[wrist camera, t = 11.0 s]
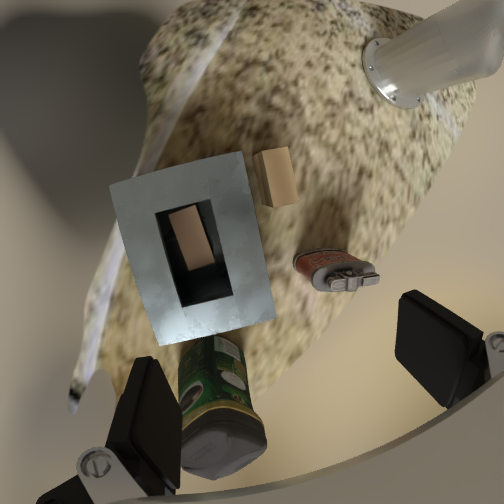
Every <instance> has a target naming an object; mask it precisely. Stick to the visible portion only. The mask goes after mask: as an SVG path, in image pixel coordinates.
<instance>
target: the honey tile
mask: <svg viewBox="0 0 504 504" xmlns="http://www.w3.org/2000/svg"><path fill="white" fill-rule="evenodd" d="M252 158H253V163H254V167H255V172H256V177H257V182H258V186H259V191H260V196H261V201H262V204H263V205H266V206H269V207H273V208H275V207H280V206H284V205H289V204H294V203H298V202H299V200H298V194H297V189H296V184H295V179H294V174H293V169H292V164H291V159H290V155H289V150H288V147H282V148H276V149H270V150H264V151H261V152H259V153H258V154H256V155H254V156H253V157H252Z"/></svg>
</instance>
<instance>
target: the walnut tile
mask: <svg viewBox="0 0 504 504" xmlns="http://www.w3.org/2000/svg"><path fill="white" fill-rule="evenodd" d="M169 218H170V221H171V224H172V227H173V229H174V232H175V235H176V238H177V240H178V243H179V246H180V248H181V251H182V254H183V256H184V259H185V262H186V264H187V267H188V269H189V271H191V270H194V269H196V268H199V267H202V266H205V265H208V264H211V263H214V262H215V257H214V249H213V246H212V244H211V241H210V238H209V235H208V232H207V229H206V226H205V223H204V221H203V218H202V215H201V212H200V209H199V206H198V203H197V202H195V203H192V204H190V205H187V206H184V207H181V208H179V209H176V210H174V211H173V212H171V213H170V214H169Z"/></svg>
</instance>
